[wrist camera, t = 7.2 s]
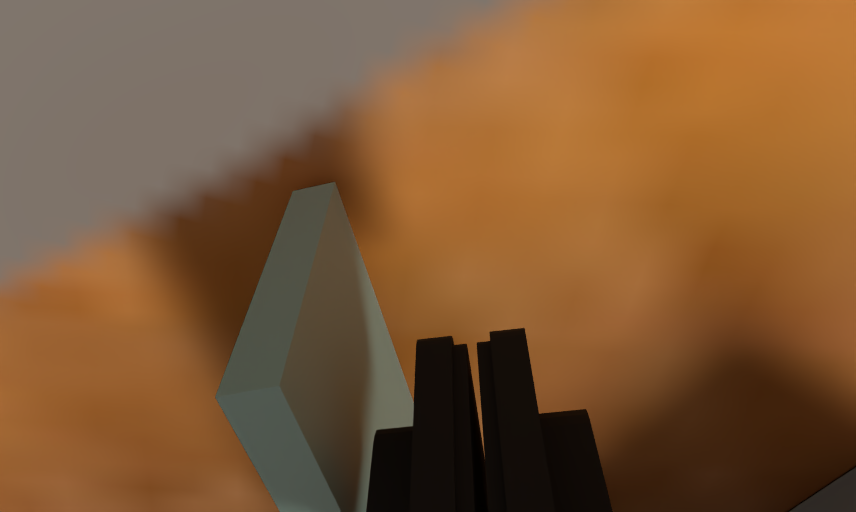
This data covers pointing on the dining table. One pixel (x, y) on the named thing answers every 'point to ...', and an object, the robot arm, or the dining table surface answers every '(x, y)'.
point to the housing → (833, 496)
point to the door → (314, 364)
